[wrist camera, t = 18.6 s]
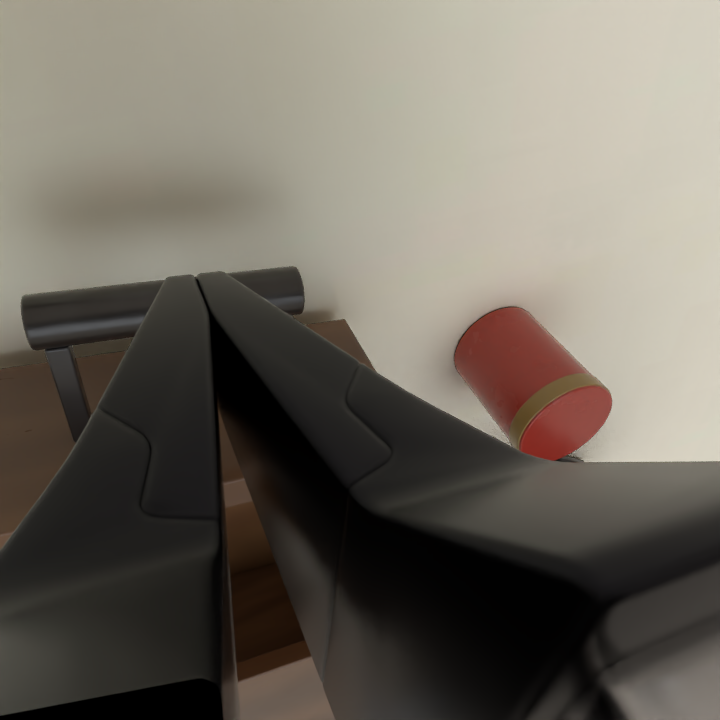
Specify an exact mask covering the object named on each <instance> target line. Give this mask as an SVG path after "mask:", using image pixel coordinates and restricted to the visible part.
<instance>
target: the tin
mask: <svg viewBox="0 0 720 720" xmlns="http://www.w3.org/2000/svg"><path fill="white" fill-rule="evenodd" d="M454 362H455V367H456V370H457V371H458V373H459V374H460V376H461V377H462V378H463V380H464V381H465V382H466V383H467V385H468V386H469V387H470V389H471V390H472V391H473V393H474V394H475V395H476V397H477V398H478V399H479V401H480V402H481V403H482V405H483V406H484V407H485V409H486V410H487V411H488V413H489V414H490V415H491V417H492V418H493V419H494V420H495V422H496V423H497V424H498V426H499V427H500V428H501V430H502V431H503V432H504V434H505V435H506V436H507V438H508V439H509V440H510V443H511V445H512V446H513V447H514V448H515V449H518V450H520V451H522V452H524V453H527V454H530V455H532V456H535V457H539V458H543V459H547V460H552V461H555V460H557V459H560V458H562V457H564V456H566V455H568V454H570V453H572V452H573V451H575V450H577V449H578V448H579V447H581V446H582V445H584V444H585V443H586V442H587V441H588V440H590V439H591V438H592V437H593V436H594V435H595V434H596V433H597V432H598V430H599V429H600V428H601V427H602V425H603V424H604V423H605V421H606V419H607V418H608V416H609V413H610V411H611V407H612V398H611V394H610V392H609V390H608V389H607V388H606V387H605V386H604V385H603V384H602V383H601V382H600V381H599V380H598V379H597V378H596V377H594V376H593V375H591V374H590V373H589V372H588V371H587V370H586V369H585V368H584V367H583V366H582V365H581V364H580V363H579V362H578V361H577V360H576V359H575V358H574V357H573V356H572V355H571V354H570V353H569V352H568V351H567V350H566V349H565V348H564V347H563V346H562V345H561V344H560V343H559V342H558V341H557V340H556V339H555V338H554V337H553V336H552V335H551V334H550V333H549V332H548V331H547V330H546V329H545V328H544V327H543V326H542V325H541V324H540V323H539V322H538V321H537V320H536V319H535V318H534V317H533V316H532V315H531V314H530V313H529V312H527V311H526V310H524V309H521V308H517V307H507V308H502V309H499V310H495V311H493V312H491V313H489V314H487V315H485V316H484V317H482V318H481V319H479V320H478V321H477V322H475V323H474V324H473V325H472V326H471V327H470V328H469V329H468V330H467V331H466V333H465V334H464V335H463V337H462V338H461V340H460V342H459V344H458V346H457V348H456V351H455V357H454Z"/></svg>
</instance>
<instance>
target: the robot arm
mask: <svg viewBox="0 0 720 720" xmlns="http://www.w3.org/2000/svg"><path fill="white" fill-rule="evenodd" d="M218 408H219V412H220V415H221V418H222V421H223V424H224V427H225V429H226V432H227V435H228V437H229V440H230V443H231V445H232V448H233V451H234V453H235V456H236V458H237V461H238V464H239V466H240V469H241V472H242V474H243V477H244V480H245V482H246V485H247V488H248V490H249V493H250V495H251V498H252V501H253V503H254V506H255V509H256V511H257V514H258V517H259V519H260V522H261V524H262V527H263V530H264V532H265V535H266V538H267V540H268V543H269V546H270V548H271V551H272V554H273V556H274V559H275V561H276V564H277V567H278V569H279V572H280V575H281V577H282V580H283V583H284V585H285V588H286V590H287V593H288V596H289V598H290V601H291V604H292V606H293V609H294V612H295V614H296V617H297V620H298V622H299V625H300V627H301V630H302V633H303V635H304V638H305V641H306V643H307V646H308V649H309V651H310V654H311V657H312V659H313V662H314V664H315V667H316V670H317V672H318V675H319V678H320V680H321V682H323V689H324V691H325V694H326V697H327V699H328V702H329V704H330V707H331V710H332V712H333V715H334V718H335V720H720V461H713V462H584V461H583V460H579V459H576V458H572V457H568V456H564V457H562V458H560V459H557V460H555V461H552V460H547V459H543V458H539V457H535V456H532V455H530V454H527V453H524V452H522V451H520V450H518V449H515V448H513V447H511V446H509V445H507V444H505V443H503V442H501V441H500V440H498V439H496V438H494V437H492V436H490V435H488V434H486V433H484V432H482V431H480V430H478V429H477V428H475V427H473V426H471V425H469V424H467V423H465V422H463V421H461V420H459V419H457V418H456V417H454V416H452V415H450V414H448V413H446V412H444V411H442V410H440V409H438V408H436V407H435V406H433V405H431V404H429V403H427V402H426V401H424V400H422V399H420V398H418V397H416V396H415V395H413V394H411V393H409V392H407V391H406V390H404V389H402V388H401V387H399V386H398V385H396V384H394V383H393V382H391V381H390V380H388V379H386V378H385V377H383V376H381V375H380V374H378V373H377V372H375V371H374V370H372V369H371V368H369V367H368V366H366V365H365V364H363V363H361V364H360V363H359V361H358V360H357V359H355V358H354V357H352V356H351V355H349V354H348V353H346V352H345V351H343V350H342V349H340V348H339V347H337V346H336V345H334V344H332V343H331V342H329V341H328V340H326V339H325V338H323V337H322V336H320V335H319V334H317V333H316V332H314V331H313V330H311V329H310V328H308V327H307V326H305V325H304V324H302V323H301V322H299V321H298V320H296V319H295V318H293V317H292V316H290V315H289V314H287V313H285V312H284V311H282V310H281V309H279V308H278V307H276V306H275V305H273V304H272V303H270V302H269V301H267V300H266V299H264V298H263V297H261V296H260V295H258V294H257V293H255V292H254V291H252V290H251V289H249V288H248V287H246V286H245V285H243V284H242V283H240V282H238V281H237V280H235V279H234V278H232V277H231V276H229V275H228V274H226V273H225V272H221V271H219V272H209V273H201V274H198V275H197V276H196V278H195V277H194V276H193V275H181V276H172V277H167V278H166V279H165V281H164V282H163V284H162V286H161V288H160V290H159V292H158V294H157V295H156V297H155V299H154V301H153V303H152V305H151V307H150V308H149V310H148V312H147V314H146V316H145V318H144V320H143V321H142V323H141V325H140V327H139V329H138V331H137V333H136V334H135V336H134V338H133V340H132V342H131V344H130V345H129V347H128V349H127V351H126V353H125V355H124V357H123V358H122V360H121V362H120V364H119V366H118V368H117V370H116V371H115V373H114V375H113V377H112V379H111V381H110V383H109V384H108V386H107V388H106V390H105V392H104V394H103V396H102V397H101V399H100V401H99V403H98V405H97V407H96V410H95V411H94V412H93V413H92V415H91V417H90V419H89V421H88V423H87V425H86V427H85V428H84V430H83V432H82V434H81V435H80V437H79V439H78V440H77V442H76V444H75V445H74V447H73V449H72V450H71V452H70V454H69V456H68V457H67V459H66V460H65V462H64V463H63V465H62V466H61V467H60V469H59V470H58V472H57V473H56V475H55V476H54V477H53V479H52V480H51V482H50V483H49V484H48V486H47V487H46V489H45V490H44V492H43V493H42V494H41V496H40V497H39V498H38V500H37V501H36V502H35V504H34V505H33V506H32V508H31V509H30V510H29V512H28V513H27V514H26V516H25V517H24V519H23V520H22V521H21V523H20V524H19V525H18V527H17V528H16V529H15V531H14V532H13V533H12V535H11V536H10V537H9V539H8V540H7V541H6V543H5V544H4V545H3V547H2V548H1V549H0V720H241V719H240V705H239V691H238V677H237V663H236V649H235V635H234V621H233V607H232V593H231V579H230V565H229V551H228V537H227V523H226V509H225V495H224V481H223V467H222V453H221V439H220V425H219V414H218Z"/></svg>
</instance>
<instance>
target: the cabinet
mask: <svg viewBox="0 0 720 720" xmlns="http://www.w3.org/2000/svg"><path fill="white" fill-rule="evenodd" d="M237 677H238V691H239V705H240V719H241V720H335V718H334V715H333V712H332V710H331V707H330V704H329V702H328V699H327V697H326V694H325V691H324V689H323V682H321V680H320V678H319V675H318V672H317V670H316V667H315V664H314V662H313V659H312V657H311V654H310V651H309V649H308V646H307V643H306V641H305V640H303V641H300V642H297V643H294V644H291V645H288V646H285V647H282V648H279V649H276V650H273V651H270V652H267V653H264V654H261V655H258V656H255V657H252V658H249V659H246V660H243V661H240V662H237Z"/></svg>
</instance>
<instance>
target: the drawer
mask: <svg viewBox="0 0 720 720" xmlns="http://www.w3.org/2000/svg"><path fill="white" fill-rule="evenodd" d="M226 274H228V275H229V276H231V277H232V278H234V279H235V280H237V281H238V282H240V283H242V284H243V285H245V286H246V287H248V288H249V289H251V290H252V291H254V292H255V293H257V294H258V295H260V296H261V297H263V298H264V299H266V300H267V301H269V302H270V303H272V304H273V305H275V306H276V307H278V308H279V309H281V310H282V311H284V312H285V313H287V314H289V315H290V316H292V315H298V314H301V313H302V312H303V309H304V287H303V282H302V278H301V275H300V273H299V271H298V269H297V268H296V267H294V266H289V267H280V268H270V269H261V270H252V271H242V272H233V273H226ZM195 278H196V277H195ZM164 281H165V280H159V281H150V282H140V283H131V284H122V285H112V286H103V287H94V288H85V289H75V290H66V291H57V292H47V293H38V294H29V295H24V296H23V297H22V299H21V315H22V321H23V326H24V330H25V334H26V337H27V340H28V343H29V345H30V346H31V348H32V349H33V350H43V349H45V351H44V352H45V355H46V358H47V361H48V362H44V363H37V364H31V365H24V366H17V367H10V368H3V369H0V549H1V548H2V547H3V545H4V544H5V543H6V541H7V540H8V539H9V537H10V536H11V535H12V533H13V532H14V531H15V529H16V528H17V527H18V525H19V524H20V523H21V521H22V520H23V519H24V517H25V516H26V514H27V513H28V512H29V510H30V509H31V508H32V506H33V505H34V504H35V502H36V501H37V500H38V498H39V497H40V496H41V494H42V493H43V492H44V490H45V489H46V487H47V486H48V484H49V483H50V482H51V480H52V479H53V477H54V476H55V475H56V473H57V472H58V470H59V469H60V467H61V466H62V465H63V463H64V462H65V460H66V459H67V457H68V456H69V454H70V452H71V450H72V449H73V447H74V445H75V444H76V442H77V440H78V439H79V437H80V435H81V434H82V432H83V430H84V428H85V427H86V425H87V423H88V421H89V419H90V417H91V415H92V413H93V412H94V411H95V410H96V407H97V405H98V403H99V401H100V399H101V397H102V396H103V394H104V392H105V390H106V388H107V386H108V384H109V383H110V381H111V379H112V377H113V375H114V373H115V371H116V370H117V368H118V366H119V364H120V362H121V360H122V358H123V357H124V355H125V353H126V351H120V352H114V353H107V354H100V355H93V356H86V357H79V358H76V357H75V353H74V350H73V346H72V345H80V344H87V343H94V342H101V341H109V340H116V339H123V338H130V337H134V336H135V334H136V333H137V331H138V329H139V327H140V325H141V323H142V321H143V320H144V318H145V316H146V314H147V312H148V310H149V308H150V307H151V305H152V303H153V301H154V299H155V297H156V295H157V294H158V292H159V290H160V288H161V286H162V284H163V282H164ZM292 317H293V316H292ZM305 326H307V327H308V328H310V329H311V330H313V331H314V332H316V333H317V334H319V335H320V336H322V337H323V338H325V339H326V340H328V341H329V342H331V343H332V344H334V345H336V346H337V347H339V348H340V349H342V350H343V351H345V352H346V353H348V354H349V355H351V356H352V357H354V358H355V359H357V360H358V361H359V363H360V364H361V363H363V364H365V365H366V366H368V367H369V368H371V369H372V370H374V371H375V369H374V367H373V366H372V364H371V362H370V361H369V359H368V357H367V356H366V354H365V352H364V351H363V349H362V347H361V346H360V344H359V342H358V341H357V339H356V337H355V336H354V334H353V332H352V331H351V329H350V327H349V326H348V324H347V322H346V321H345V319H342V320H335V321H328V322H321V323H314V324H307V325H305ZM375 372H376V371H375ZM218 414H219V425H220V439H221V453H222V467H223V481H224V495H225V509H226V523H227V537H228V551H229V565H230V579H231V593H232V607H233V621H234V635H235V649H236V663H237V662H240V661H243V660H246V659H249V658H252V657H255V656H258V655H261V654H264V653H267V652H270V651H273V650H276V649H279V648H282V647H285V646H288V645H291V644H294V643H297V642H300V641H303V640H305V638H304V635H303V633H302V630H301V627H300V625H299V622H298V620H297V617H296V614H295V612H294V609H293V606H292V604H291V601H290V598H289V596H288V593H287V590H286V588H285V585H284V583H283V580H282V577H281V575H280V572H279V569H278V567H277V564H276V561H275V559H274V556H273V554H272V551H271V548H270V546H269V543H268V540H267V538H266V535H265V532H264V530H263V527H262V524H261V522H260V519H259V517H258V514H257V511H256V509H255V506H254V503H253V501H252V498H251V495H250V493H249V490H248V488H247V485H246V482H245V480H244V477H243V474H242V472H241V469H240V466H239V464H238V461H237V458H236V456H235V453H234V451H233V448H232V445H231V443H230V440H229V437H228V435H227V432H226V429H225V427H224V424H223V421H222V418H221V415H220V412H219V408H218Z"/></svg>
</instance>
